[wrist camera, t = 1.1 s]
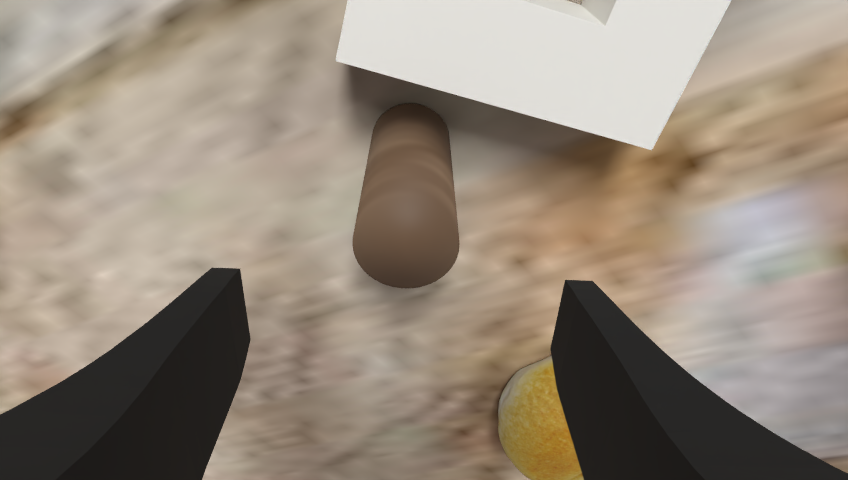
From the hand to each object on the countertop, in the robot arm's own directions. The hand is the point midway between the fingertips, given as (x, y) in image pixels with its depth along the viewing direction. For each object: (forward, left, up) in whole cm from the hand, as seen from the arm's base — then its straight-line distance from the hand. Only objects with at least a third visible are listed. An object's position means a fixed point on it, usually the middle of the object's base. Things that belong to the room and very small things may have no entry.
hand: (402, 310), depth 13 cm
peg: (0, 0, -10) cm, 10 cm away
